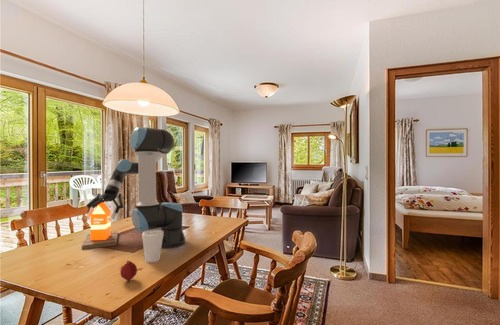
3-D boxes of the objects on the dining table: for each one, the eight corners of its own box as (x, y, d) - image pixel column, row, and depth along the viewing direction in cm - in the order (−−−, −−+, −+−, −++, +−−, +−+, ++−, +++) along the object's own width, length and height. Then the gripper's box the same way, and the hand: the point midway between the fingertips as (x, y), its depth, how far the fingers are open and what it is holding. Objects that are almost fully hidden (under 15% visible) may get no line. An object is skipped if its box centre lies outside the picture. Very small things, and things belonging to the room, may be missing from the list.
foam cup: (155, 264, 113) (155, 236, 113) (137, 262, 115) (137, 234, 115) (166, 257, 122) (167, 230, 122) (150, 255, 124) (150, 229, 124)
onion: (128, 276, 102) (128, 256, 102) (140, 278, 100) (140, 258, 100) (117, 282, 96) (117, 262, 96) (129, 285, 94) (129, 264, 94)
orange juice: (110, 235, 149) (111, 201, 149) (105, 239, 141) (106, 204, 140) (96, 235, 148) (96, 201, 147) (90, 240, 139) (90, 204, 139)
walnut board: (116, 245, 138) (116, 241, 138) (81, 249, 131) (81, 245, 131) (117, 234, 157) (117, 231, 157) (87, 237, 150) (87, 234, 150)
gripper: (134, 192, 161) (124, 221, 146) (94, 192, 159) (80, 221, 144) (131, 184, 156) (120, 214, 141) (90, 184, 154) (74, 214, 139)
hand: (100, 217), depth 142 cm, fingers open, 13 cm apart
